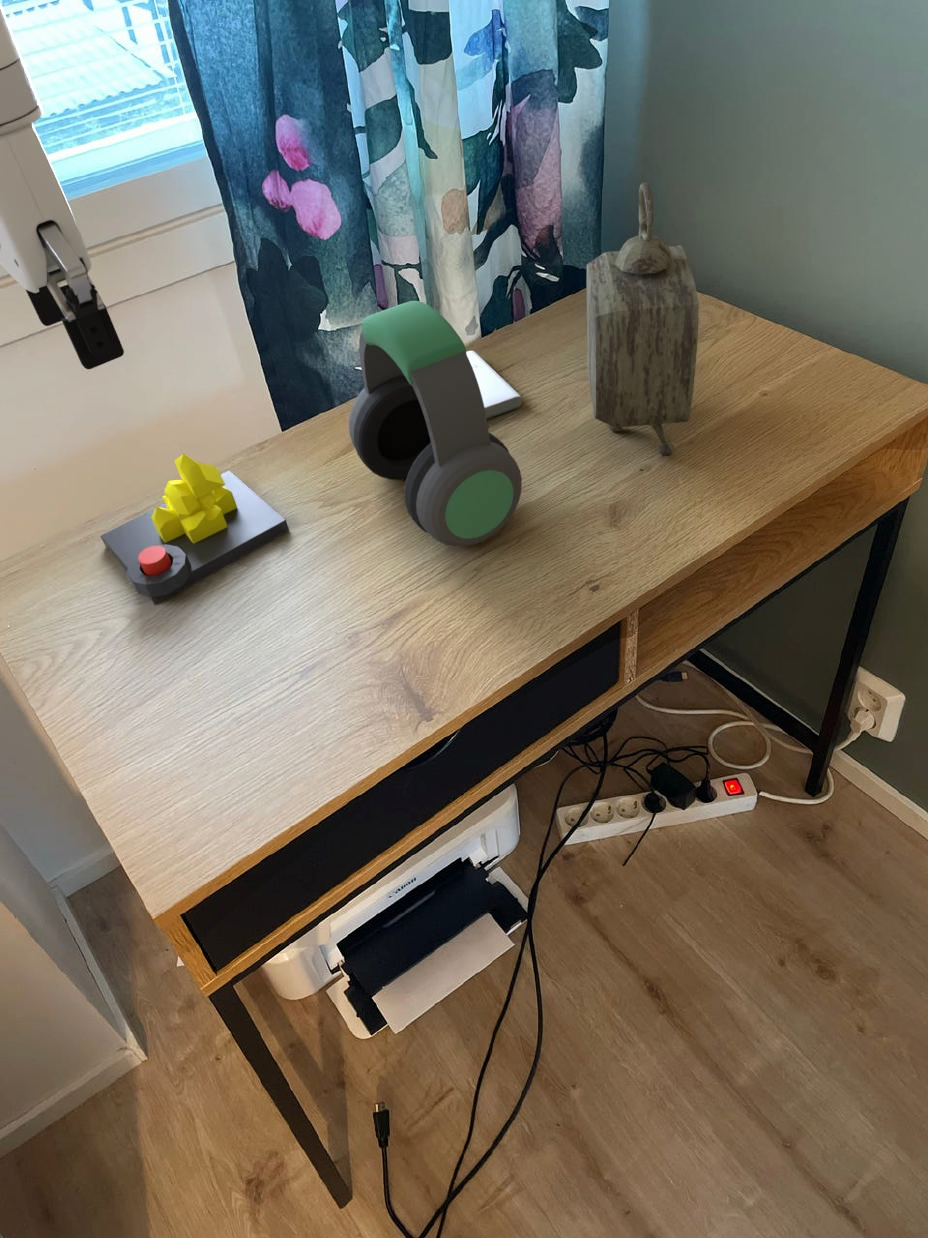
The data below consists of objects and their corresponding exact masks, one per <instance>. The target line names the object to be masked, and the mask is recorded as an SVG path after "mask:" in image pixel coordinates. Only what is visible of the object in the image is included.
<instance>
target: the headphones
mask: <svg viewBox="0 0 928 1238" xmlns="http://www.w3.org/2000/svg"><path fill="white" fill-rule="evenodd" d="M358 342H359V343H358V346H359V348H358V349H359V362H360V368H361V375H362V380H363V385H364V388H362V390H361V391H360V392H359V394H358V395H357V397H356V398H355V400H354V402H353V405H352V407H351V409H350V413H349V417H348V432H349V433H348V434H349V437H350V440H351V443H352V445H353V447H354V449H355V451H356V455H357V456H358V457H359V459H360V460H361V462H362V463H363V464H364V465H365V467H367V469H369V470H370V472H372V473H373V474H374V475H377V476H378V477H379V478H384V479H387V480H390V481H391V480H395V481H401V480H402V481H403V480H405V483H404V489H403V494H404V495H403V496H404V504H405V507H406V511H407V513H408V515H409V516H410V518H411V520H412V521H413V522H414V523H415V525H416V526H417V527H419V529H421V530H422V532H424V533H426V534H427V535H429V536H430V537H432V538H433V539H434V540H436V541H437V542H439V543H441V544H443V545H446V546H450V547H468V546H474V545H477V544H479V543H482V542H485V541H486V540H488V539H490V538H491V537H492V536H495V534H497V533H498V532H500V530H502V528H503V527H505V526H506V524H507V523H508V522H509V520H510V519H511V518H512V516H513V515H514V513H515V511H516V510H517V507H518V504H519V502H520V499H521V494H522V485H523V484H522V479H523V478H522V473H521V469H520V467H519V465H518V463H517V461H516V459H515V458H514V457H513V456H512V454H511V453H510V451H509V449H508V448H507V446H506V445H505V444H504V443H503V442H502V441H501V440H500V439H499V438H498V437H497V436H495V435H494V434H492V433H491V432H490V431H489V424H488V419H487V418H486V413H485V408H484V403H483V399H482V395H481V392H480V388H479V385H478V382H477V379H476V376H475V373H474V371H473V368H472V366H471V363H470V361H469V359H468V357H467V354H466V352H467V349H466V346H465V342H464V341H463V340H462V339H461V336H460V335H459V334H458V332H457V331H456V329H454V328H453V326H452V325H451V323H450V322H449V321H447V319H446V318H445V317H444V316H443V315H441V314H440V312H439V311H437V310H436V309H435V308H434V307H432V306H430V304H428V303H426V302H423V301H419V300H411V301H406V302H403V303H400V304H398V305H395V306H391V307H389V308H385V309H383V310H380V311H378V312H375V313H372V314H370V315H368V316H366V317H364V318H363V319H362V322H361V331H360V333H359V341H358Z"/></svg>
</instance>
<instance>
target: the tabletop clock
mask: <svg viewBox="0 0 928 1238" xmlns="http://www.w3.org/2000/svg"><path fill="white" fill-rule="evenodd" d="M653 203H654V202H653V194H652V191H651V187H650V185H649V184H648V182H647V181H643V182H642V183H641V184H639V189H638V225H639V226H638V235H636V236H633V237H631V238H628V239H627V240H626V242H624V243H623V245H622V246H621V248H620V250H614V251H613V250H612V251H607V252H606V251H604V252H603V253H601V254H600V255H599V256H597V257H595V258H594V259H593V260H591V261H590V262H588V263H587V264H586V275H585V276H586V283H585V286H586V290H585V291H586V293H585V294H586V298H585V299H586V306H585V307H586V310H585V311H586V362H587V374H588V381H589V390H590V397H591V405H592V411H593V416H594V419H595V420H598V421H599V422H602V423H604V424H606V425H607V428H609V430H610V431H612V432H619V431H620V430H622V428H626V427H627V428H628V427H641V426H650V427H652V428H653V430H654V432H655V433H656V436H657V437H658V439H659V441H660V442H661V443H660V444H659V446H658V452H659V454H660V455H661V456H663V457H671V456H672V455H674V453H675V450H676V445H675V444H674V443H673V442H672V441H670V440H667V438H666V435H665V432H664V428H663V425H665V424H678V423H689V420H690V416H691V409H692V405H693V404H692V403H693V395H694V388H695V387H694V386H695V377H696V365H697V354H698V353H697V350H698V339H699V338H698V335H699V299H698V291H697V286H696V282H695V279H694V278H695V277H694V275H693V272H692V267H691V265H690V261H689V259H688V257H687V254H686V252H685V249H684V247H683V246H682V245H678V244H677V245H668V244H667V243H665V242H664V241H663V240H662V239H661V238H660V237H659V236H656V235H653V230H654V204H653Z"/></svg>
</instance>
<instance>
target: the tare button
mask: <svg viewBox="0 0 928 1238" xmlns="http://www.w3.org/2000/svg"><path fill="white" fill-rule="evenodd" d="M138 560H139V562H140V564H141V566H142V568H143V571H144V572H145V574H147V575H149V576H154V575H159V574H161V573H163V572H165V571H167V570H168V569H169V568H170V566H171V560H170V558H169V556H168V554H167V552H166V549H165V548H164V547H162V546H151V547H148V548H146V549H145V550H143V551H142V552H141V553H140V554H139V557H138Z"/></svg>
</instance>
